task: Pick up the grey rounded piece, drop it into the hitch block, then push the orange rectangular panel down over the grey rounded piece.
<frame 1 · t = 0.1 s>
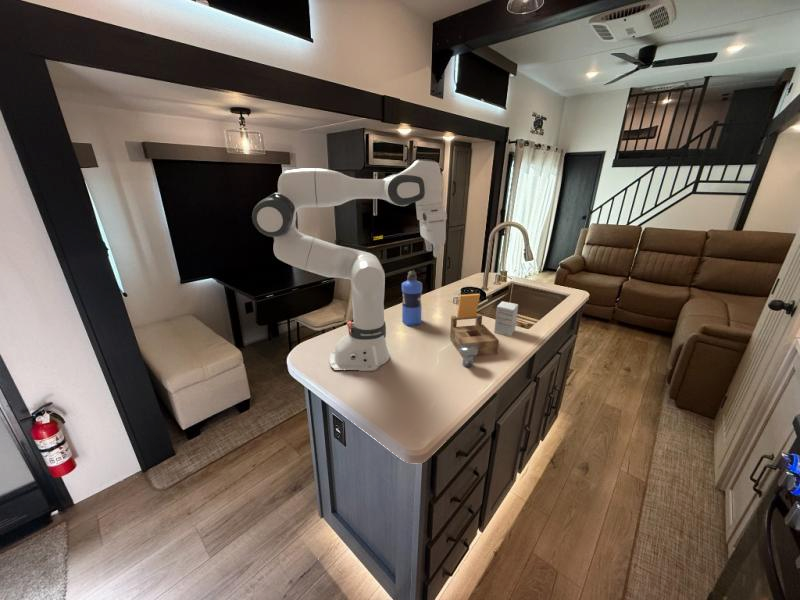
hand: (432, 253, 107), 39 cm above the table, tool pointing down, fingers open, 8 cm apart
hitch block: (472, 346, 124), on the table
water bottle: (411, 322, 146), on the table
grey rounded piece: (467, 364, 111), on the table
orange rectangular panel: (468, 307, 126), point 14 cm above the table, hinge at 80.0°
supplement box: (504, 332, 136), on the table
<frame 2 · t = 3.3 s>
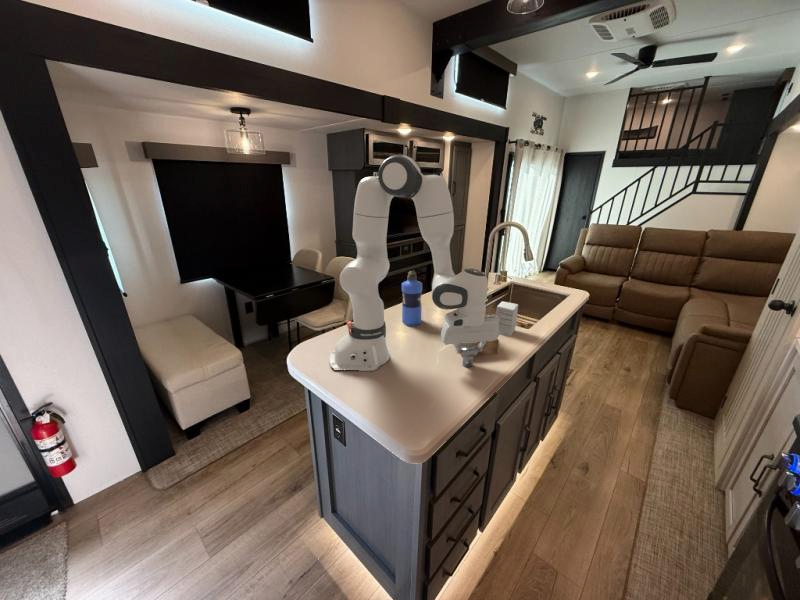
hand: (468, 351, 110), 5 cm above the table, tool pointing down, fingers closed on grey rounded piece, 6 cm apart
grey rounded piece: (467, 364, 111), on the table, touching gripper
everything else where it was.
when the fingers open (7 cm above the table, at t = 10.1 s): grey rounded piece drops 1 cm, resting on hitch block.
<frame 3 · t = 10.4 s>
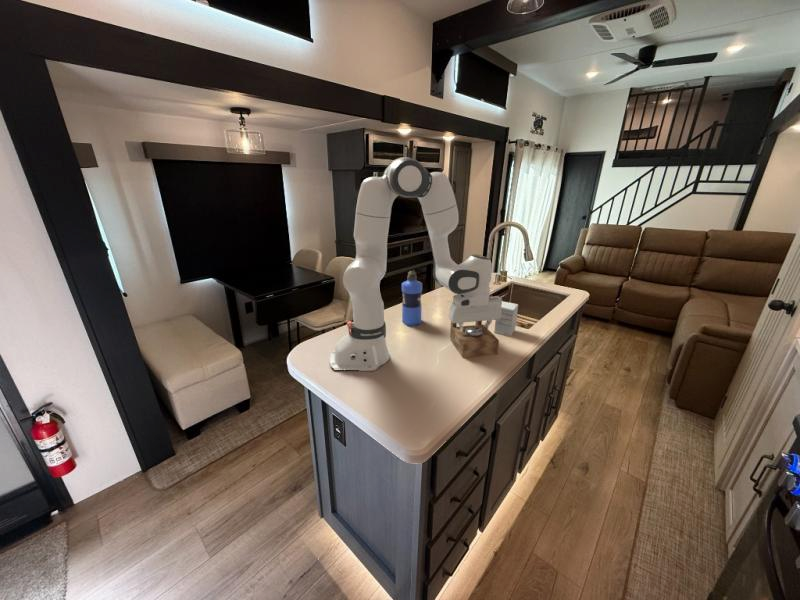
hand: (474, 330, 121), 7 cm above the table, tool pointing down, fingers open, 8 cm apart
grey rounded piece: (472, 345, 123), resting on hitch block
everything else where it was.
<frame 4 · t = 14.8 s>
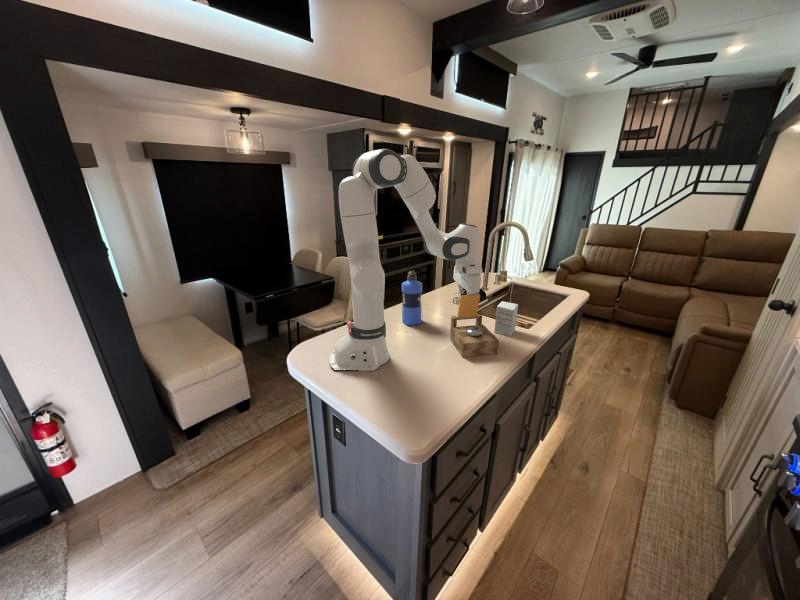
hand: (464, 296, 129), 17 cm above the table, tool pointing down, fingers open, 7 cm apart
orange rectangular panel: (468, 307, 125), point 14 cm above the table, hinge at 78.1°, touching gripper
everything else where it was.
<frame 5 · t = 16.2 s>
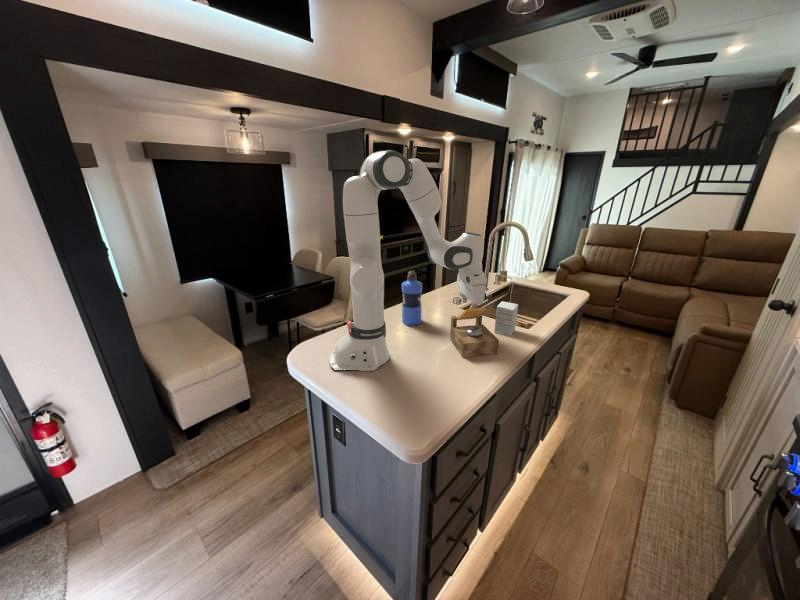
hand: (468, 306, 126), 14 cm above the table, tool pointing down, fingers open, 7 cm apart
orange rectangular panel: (470, 314, 123), point 12 cm above the table, hinge at 40.2°, touching gripper
everything else where it was.
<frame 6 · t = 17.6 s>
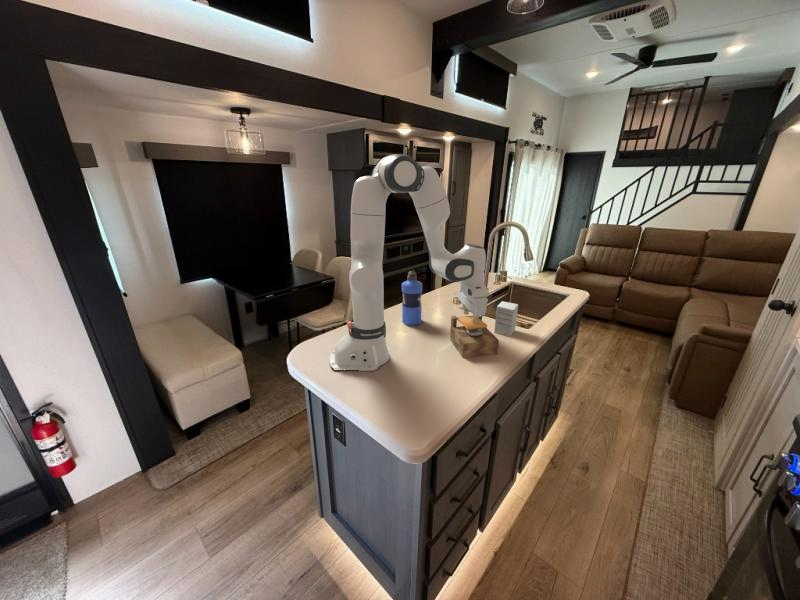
hand: (469, 318, 125), 10 cm above the table, tool pointing down, fingers open, 7 cm apart
orange rectangular panel: (471, 321, 123), point 9 cm above the table, hinge at 5.1°, touching gripper
everything else where it was.
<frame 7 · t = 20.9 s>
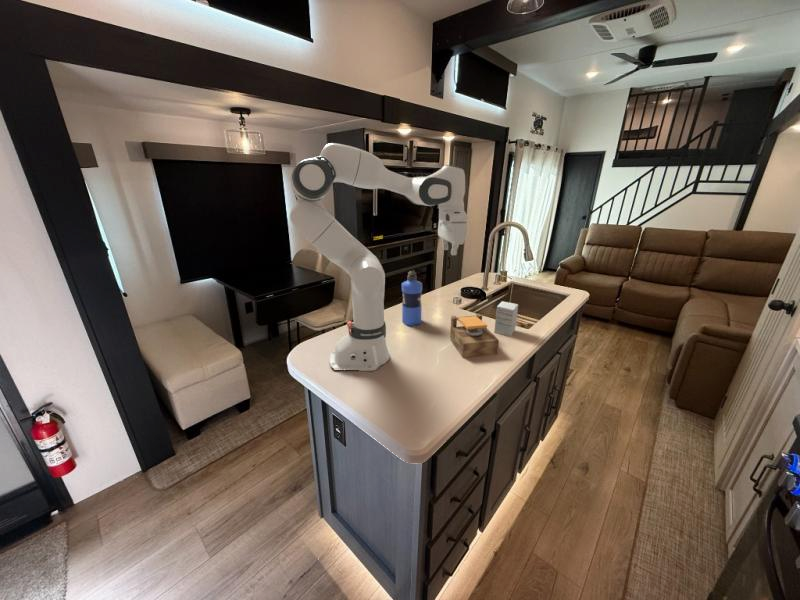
hand: (449, 252, 116), 37 cm above the table, tool pointing down, fingers open, 8 cm apart
orange rectangular panel: (471, 321, 123), point 9 cm above the table, hinge at 5.0°
everything else where it was.
at the end: grey rounded piece 0.1 cm off-centre on the hitch block, point 0.5 cm above the hitch block's base; grey rounded piece tilted 0°; orange rectangular panel at +5° (first picture: +80°) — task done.
